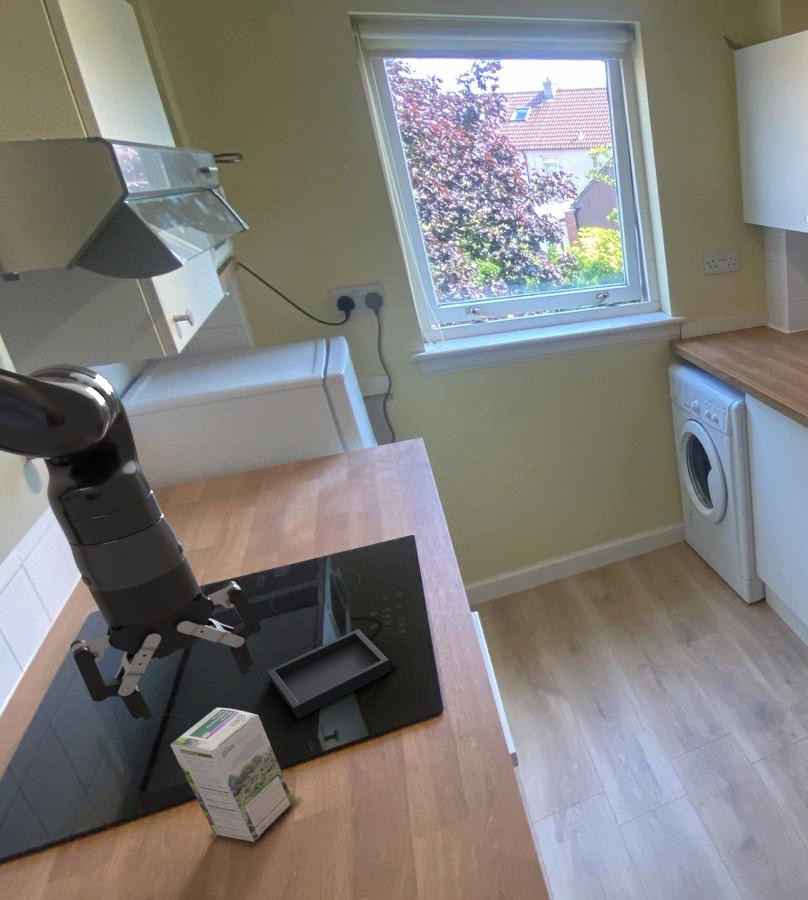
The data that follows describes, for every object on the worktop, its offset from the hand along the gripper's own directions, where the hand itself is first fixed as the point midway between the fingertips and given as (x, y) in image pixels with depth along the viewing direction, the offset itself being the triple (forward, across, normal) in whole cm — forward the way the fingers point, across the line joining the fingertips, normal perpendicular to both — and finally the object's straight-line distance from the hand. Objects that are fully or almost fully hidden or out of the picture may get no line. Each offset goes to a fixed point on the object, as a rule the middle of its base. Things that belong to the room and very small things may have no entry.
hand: (197, 692), depth 79 cm
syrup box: (+20, 0, 0) cm, 20 cm away
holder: (+19, -15, -20) cm, 32 cm away
